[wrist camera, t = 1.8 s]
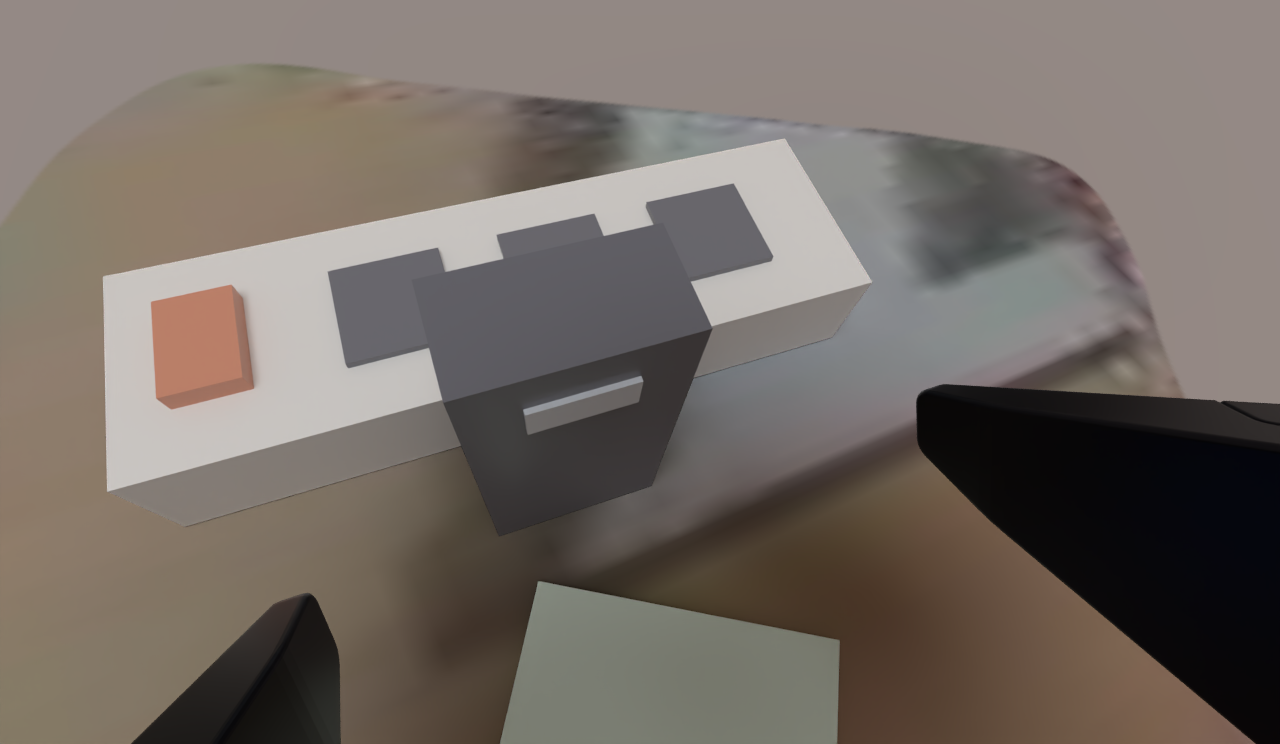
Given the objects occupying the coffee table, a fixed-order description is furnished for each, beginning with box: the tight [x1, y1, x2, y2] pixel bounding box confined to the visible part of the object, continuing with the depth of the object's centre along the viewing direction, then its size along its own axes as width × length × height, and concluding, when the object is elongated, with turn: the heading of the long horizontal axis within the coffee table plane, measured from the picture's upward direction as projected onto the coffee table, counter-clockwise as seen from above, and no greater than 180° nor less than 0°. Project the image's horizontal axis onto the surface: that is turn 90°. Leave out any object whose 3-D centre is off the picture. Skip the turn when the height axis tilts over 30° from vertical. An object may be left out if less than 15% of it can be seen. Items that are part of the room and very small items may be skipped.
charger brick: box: [412, 223, 713, 536], centre depth 16 cm, size 3×5×10 cm, turn 110°
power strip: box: [103, 139, 872, 527], centre depth 21 cm, size 22×7×4 cm, turn 110°
